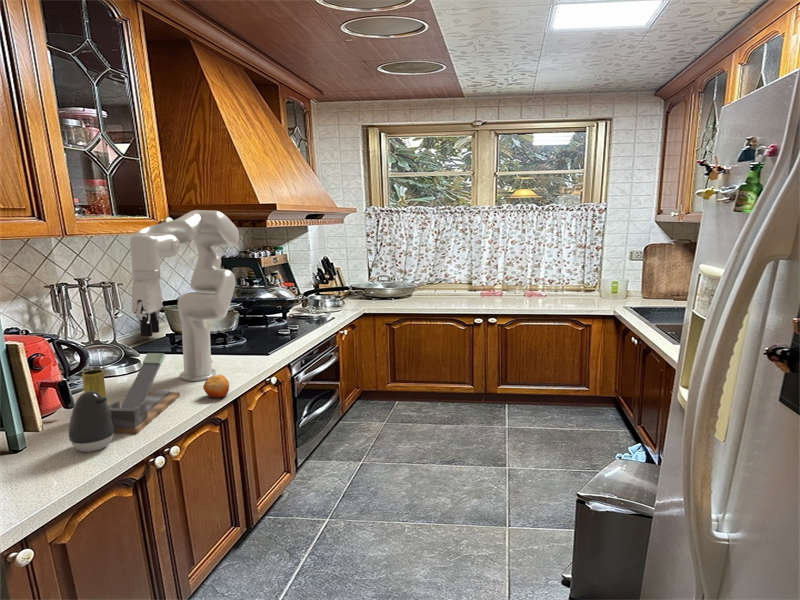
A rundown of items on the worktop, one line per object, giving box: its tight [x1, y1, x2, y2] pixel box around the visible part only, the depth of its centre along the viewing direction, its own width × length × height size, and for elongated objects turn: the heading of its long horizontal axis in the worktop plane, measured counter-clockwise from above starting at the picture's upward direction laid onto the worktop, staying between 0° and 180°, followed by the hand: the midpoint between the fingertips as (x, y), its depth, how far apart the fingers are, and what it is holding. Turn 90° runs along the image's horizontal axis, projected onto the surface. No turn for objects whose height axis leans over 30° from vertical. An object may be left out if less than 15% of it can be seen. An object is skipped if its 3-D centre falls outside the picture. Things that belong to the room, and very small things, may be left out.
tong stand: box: [108, 389, 181, 435], centre depth 148 cm, size 28×10×6 cm, turn 1°
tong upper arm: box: [120, 352, 166, 408], centre depth 147 cm, size 23×6×2 cm
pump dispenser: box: [68, 391, 115, 453], centre depth 126 cm, size 10×10×15 cm
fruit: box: [203, 374, 230, 399], centre depth 164 cm, size 8×8×8 cm
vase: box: [81, 368, 108, 404], centre depth 143 cm, size 6×6×14 cm
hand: (150, 333), depth 151 cm, fingers open, 3 cm apart
